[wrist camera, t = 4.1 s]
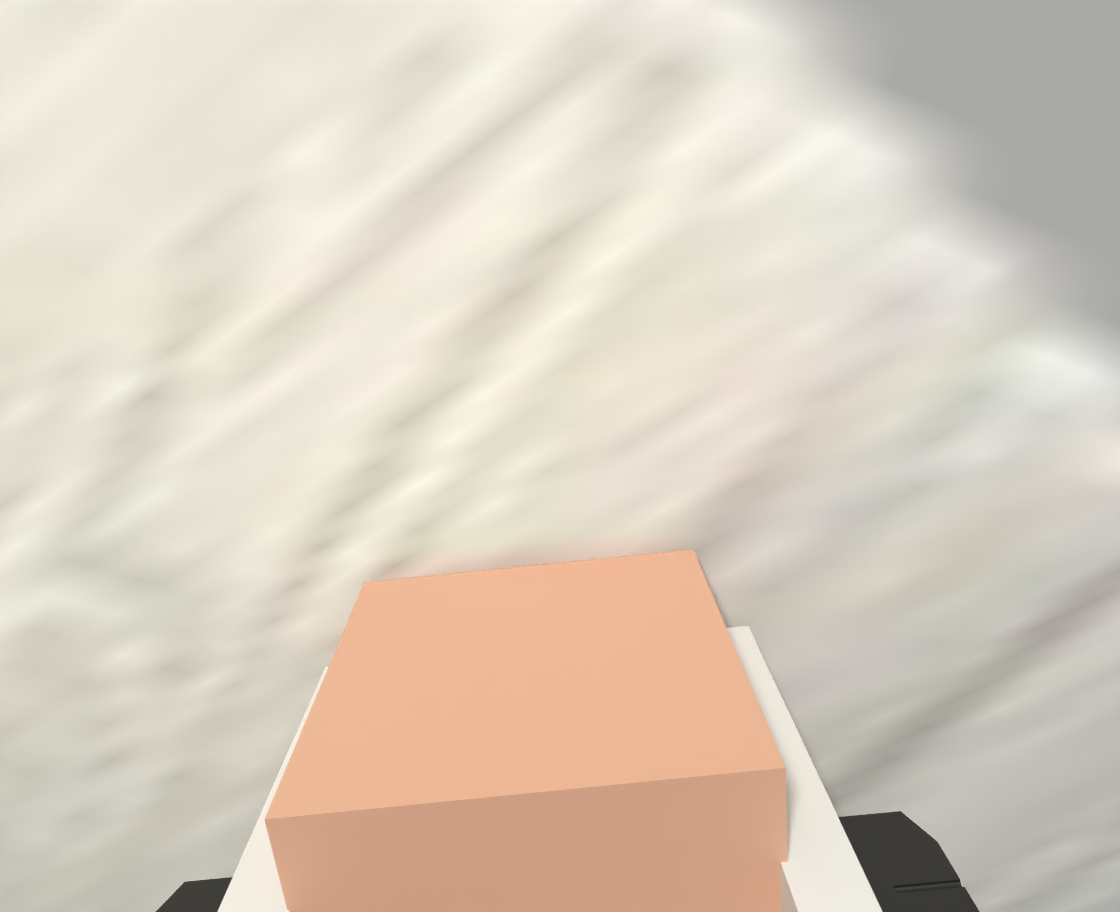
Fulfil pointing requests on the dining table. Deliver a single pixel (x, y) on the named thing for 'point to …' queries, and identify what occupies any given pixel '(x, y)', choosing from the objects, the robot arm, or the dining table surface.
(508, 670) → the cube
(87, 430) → the dining table surface
